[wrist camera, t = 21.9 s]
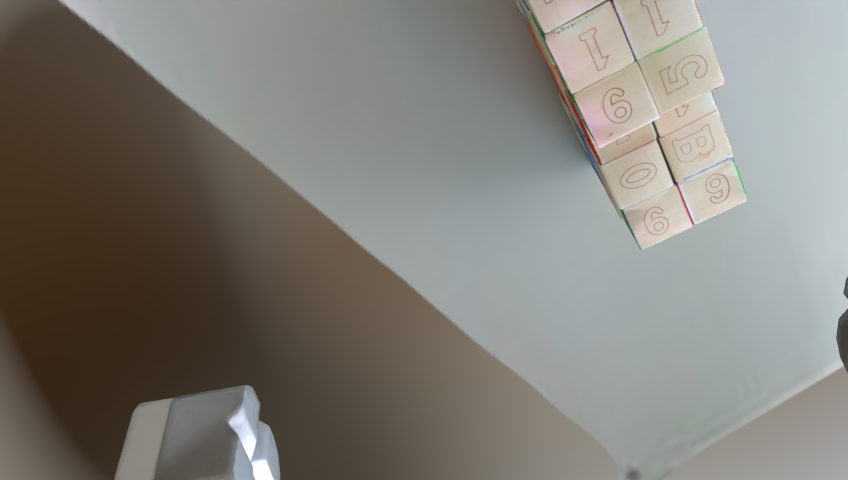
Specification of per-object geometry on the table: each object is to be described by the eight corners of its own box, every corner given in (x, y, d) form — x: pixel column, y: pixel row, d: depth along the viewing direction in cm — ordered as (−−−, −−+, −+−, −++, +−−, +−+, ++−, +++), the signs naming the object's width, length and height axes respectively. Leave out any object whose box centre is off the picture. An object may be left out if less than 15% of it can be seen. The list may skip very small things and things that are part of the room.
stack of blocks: (685, 123, 49) (776, 235, 39) (591, 169, 51) (656, 288, 40) (557, -230, 38) (639, -200, 28) (440, -161, 39) (477, -108, 29)
